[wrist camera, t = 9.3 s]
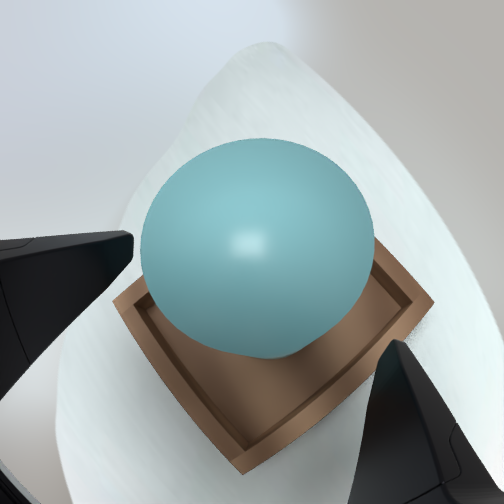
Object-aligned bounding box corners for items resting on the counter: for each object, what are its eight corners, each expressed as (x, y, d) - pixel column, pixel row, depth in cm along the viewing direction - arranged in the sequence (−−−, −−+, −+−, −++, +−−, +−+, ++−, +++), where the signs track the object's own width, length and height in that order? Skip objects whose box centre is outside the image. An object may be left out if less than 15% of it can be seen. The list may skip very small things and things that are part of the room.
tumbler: (307, 367, 17) (355, 377, 6) (215, 347, 18) (111, 315, 7) (324, 278, 19) (377, 157, 8) (238, 262, 20) (184, 131, 9)
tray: (247, 459, 16) (242, 475, 13) (131, 308, 21) (112, 301, 18) (416, 310, 19) (434, 302, 16) (291, 182, 23) (292, 160, 20)
